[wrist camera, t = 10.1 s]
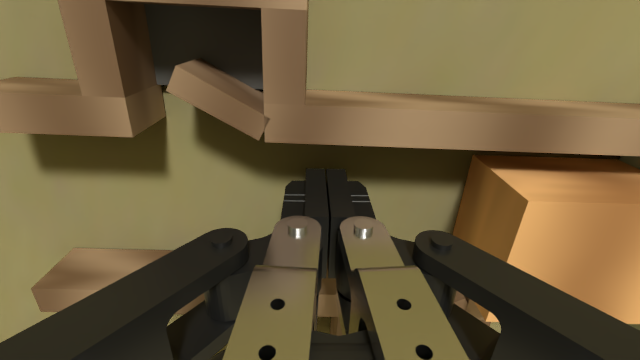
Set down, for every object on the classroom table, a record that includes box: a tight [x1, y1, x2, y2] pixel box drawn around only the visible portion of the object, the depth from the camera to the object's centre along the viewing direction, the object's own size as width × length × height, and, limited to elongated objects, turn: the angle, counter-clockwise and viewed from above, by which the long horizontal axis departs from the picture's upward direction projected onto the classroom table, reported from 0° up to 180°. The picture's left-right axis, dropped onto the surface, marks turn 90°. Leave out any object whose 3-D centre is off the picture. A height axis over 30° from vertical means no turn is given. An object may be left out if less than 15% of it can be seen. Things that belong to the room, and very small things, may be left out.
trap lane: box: [0, 0, 640, 336], centre depth 12 cm, size 24×16×4 cm, turn 87°
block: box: [452, 155, 640, 324], centre depth 13 cm, size 6×5×4 cm
